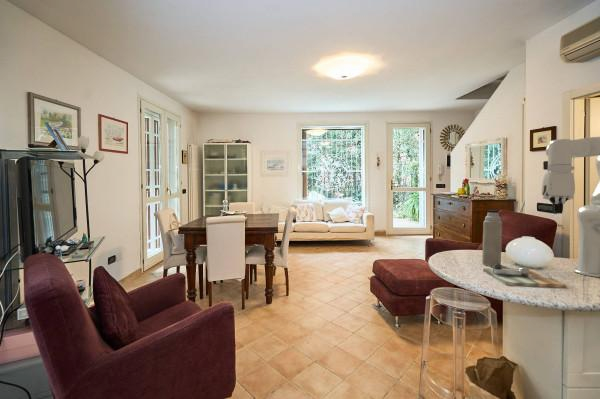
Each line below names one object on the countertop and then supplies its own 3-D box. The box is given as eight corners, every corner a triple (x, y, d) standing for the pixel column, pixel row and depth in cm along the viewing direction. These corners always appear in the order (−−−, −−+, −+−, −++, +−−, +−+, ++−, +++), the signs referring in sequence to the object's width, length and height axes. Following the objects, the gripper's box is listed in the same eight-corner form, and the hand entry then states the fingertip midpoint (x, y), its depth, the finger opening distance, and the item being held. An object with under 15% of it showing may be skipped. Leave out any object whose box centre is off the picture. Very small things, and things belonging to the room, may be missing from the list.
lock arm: (526, 274, 131) (526, 264, 131) (530, 276, 128) (530, 267, 127) (493, 272, 134) (493, 263, 134) (496, 274, 131) (496, 265, 130)
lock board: (534, 272, 138) (534, 263, 138) (565, 287, 118) (566, 277, 118) (483, 270, 141) (483, 262, 141) (505, 284, 122) (506, 274, 121)
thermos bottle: (479, 262, 156) (480, 209, 155) (495, 262, 156) (496, 209, 154) (487, 266, 148) (488, 211, 147) (504, 267, 148) (506, 211, 146)
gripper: (572, 169, 126) (570, 212, 127) (533, 170, 129) (532, 212, 129) (586, 168, 119) (584, 214, 120) (545, 169, 121) (543, 213, 122)
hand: (557, 213), depth 125 cm, fingers closed
